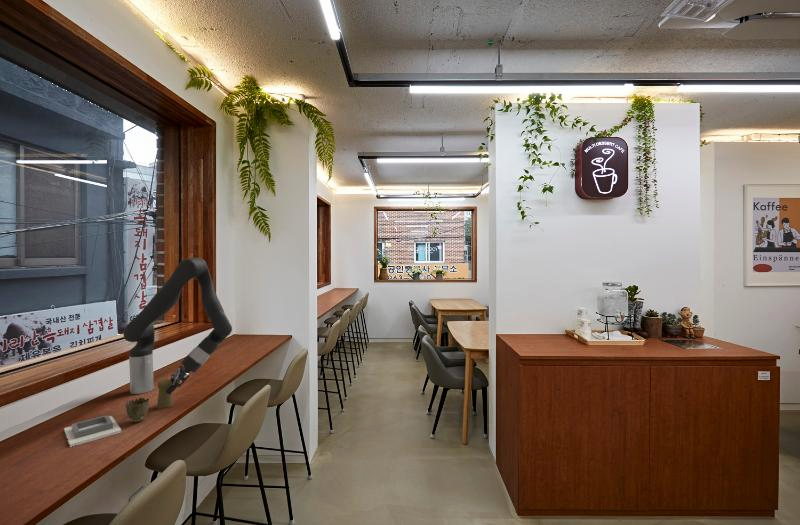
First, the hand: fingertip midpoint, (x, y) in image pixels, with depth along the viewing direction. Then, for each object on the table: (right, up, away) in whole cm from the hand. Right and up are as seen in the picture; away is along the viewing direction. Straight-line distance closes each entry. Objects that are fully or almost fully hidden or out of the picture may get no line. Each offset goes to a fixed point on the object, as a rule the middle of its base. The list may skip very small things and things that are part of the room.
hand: (166, 390), depth 160 cm
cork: (0, -7, 0) cm, 7 cm away
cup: (-2, -7, -15) cm, 17 cm away
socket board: (-13, -7, -23) cm, 27 cm away
